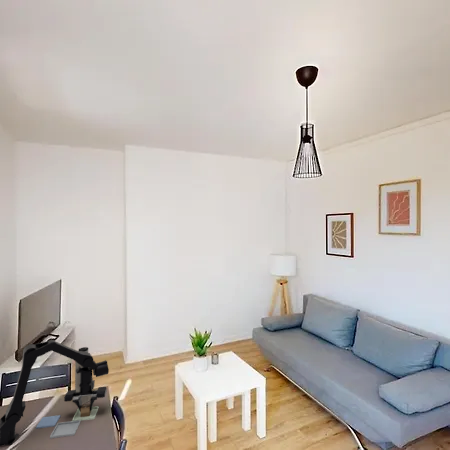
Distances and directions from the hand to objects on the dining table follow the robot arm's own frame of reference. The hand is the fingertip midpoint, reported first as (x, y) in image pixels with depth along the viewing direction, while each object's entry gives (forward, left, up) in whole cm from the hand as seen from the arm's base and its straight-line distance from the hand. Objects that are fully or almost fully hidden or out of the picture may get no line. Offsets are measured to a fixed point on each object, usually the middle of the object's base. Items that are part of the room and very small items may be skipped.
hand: (86, 411), depth 150 cm
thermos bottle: (+15, +5, -2) cm, 16 cm away
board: (-3, +16, -2) cm, 16 cm away
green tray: (0, 0, -2) cm, 2 cm away
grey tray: (-11, +6, -2) cm, 13 cm away
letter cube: (0, 0, -2) cm, 2 cm away
